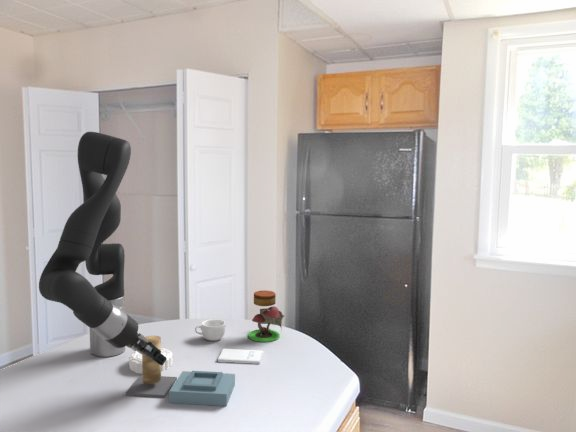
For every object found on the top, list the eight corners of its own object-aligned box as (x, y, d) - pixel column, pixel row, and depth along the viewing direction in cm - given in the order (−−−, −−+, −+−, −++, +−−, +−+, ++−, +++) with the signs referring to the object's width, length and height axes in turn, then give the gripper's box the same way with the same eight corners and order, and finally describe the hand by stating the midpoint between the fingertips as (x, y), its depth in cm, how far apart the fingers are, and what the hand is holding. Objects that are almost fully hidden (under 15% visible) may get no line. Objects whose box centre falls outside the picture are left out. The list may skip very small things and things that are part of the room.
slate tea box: (169, 402, 113) (169, 387, 113) (182, 382, 124) (182, 367, 124) (226, 406, 112) (226, 390, 112) (234, 384, 123) (235, 370, 123)
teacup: (225, 334, 160) (225, 318, 159) (225, 342, 152) (225, 326, 152) (195, 335, 159) (195, 319, 158) (194, 343, 151) (194, 327, 151)
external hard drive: (223, 353, 146) (263, 354, 145) (217, 364, 137) (259, 366, 136) (223, 347, 145) (263, 349, 144) (217, 358, 137) (259, 360, 136)
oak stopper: (139, 383, 119) (139, 341, 118) (146, 375, 123) (145, 335, 122) (157, 384, 119) (157, 342, 117) (163, 376, 123) (163, 335, 122)
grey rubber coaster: (125, 395, 117) (125, 393, 117) (140, 377, 127) (140, 375, 127) (164, 397, 116) (164, 395, 116) (177, 379, 126) (176, 377, 126)
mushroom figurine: (271, 346, 150) (271, 300, 148) (239, 338, 157) (240, 294, 155) (290, 335, 160) (291, 292, 158) (260, 327, 167) (261, 286, 165)
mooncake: (181, 365, 135) (181, 353, 135) (143, 379, 126) (143, 366, 126) (157, 353, 143) (157, 342, 143) (121, 365, 134) (121, 353, 134)
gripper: (139, 318, 109) (183, 353, 119) (109, 305, 118) (152, 339, 128) (118, 346, 105) (165, 380, 116) (89, 331, 115) (134, 363, 125)
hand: (158, 358), depth 122 cm, fingers closed on oak stopper, 4 cm apart
